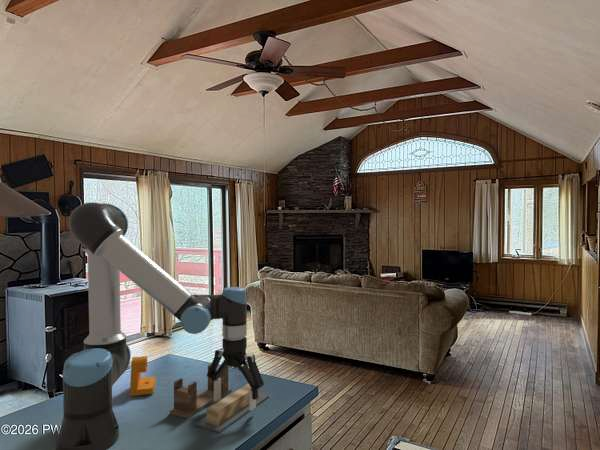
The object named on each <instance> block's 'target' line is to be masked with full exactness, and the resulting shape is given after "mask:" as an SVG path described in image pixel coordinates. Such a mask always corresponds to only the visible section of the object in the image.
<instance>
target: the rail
mask: <svg viewBox="0 0 600 450" xmlns="http://www.w3.org/2000/svg"><path fill="white" fill-rule="evenodd" d="M250 388H251V387H250V385H249V383H248V382H247V384H245V385H243V386H242V387H240V388H238V389H237V390H235V391H234V392H233V391H232V393H229V395H226V396H224V397H223V398H221V399H219V400H218V401H216V402H215V403H213V405H212V404H211V405H210V406H209V407H208V408H207V407H206V416H207V423H211V424H214V425H217V426H218V425H219V424H221V423H222V422H224V421H225V420H226V419H228V418H229V417H231V416H232V415H234V414H235V413H237V412H238V411H239V410H241V409H242V408H244V407H245V406H247V405H248V404H249V389H250ZM260 390H261V387H260V388H259V389H258V397H260V394H261V391H260Z"/></svg>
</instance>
